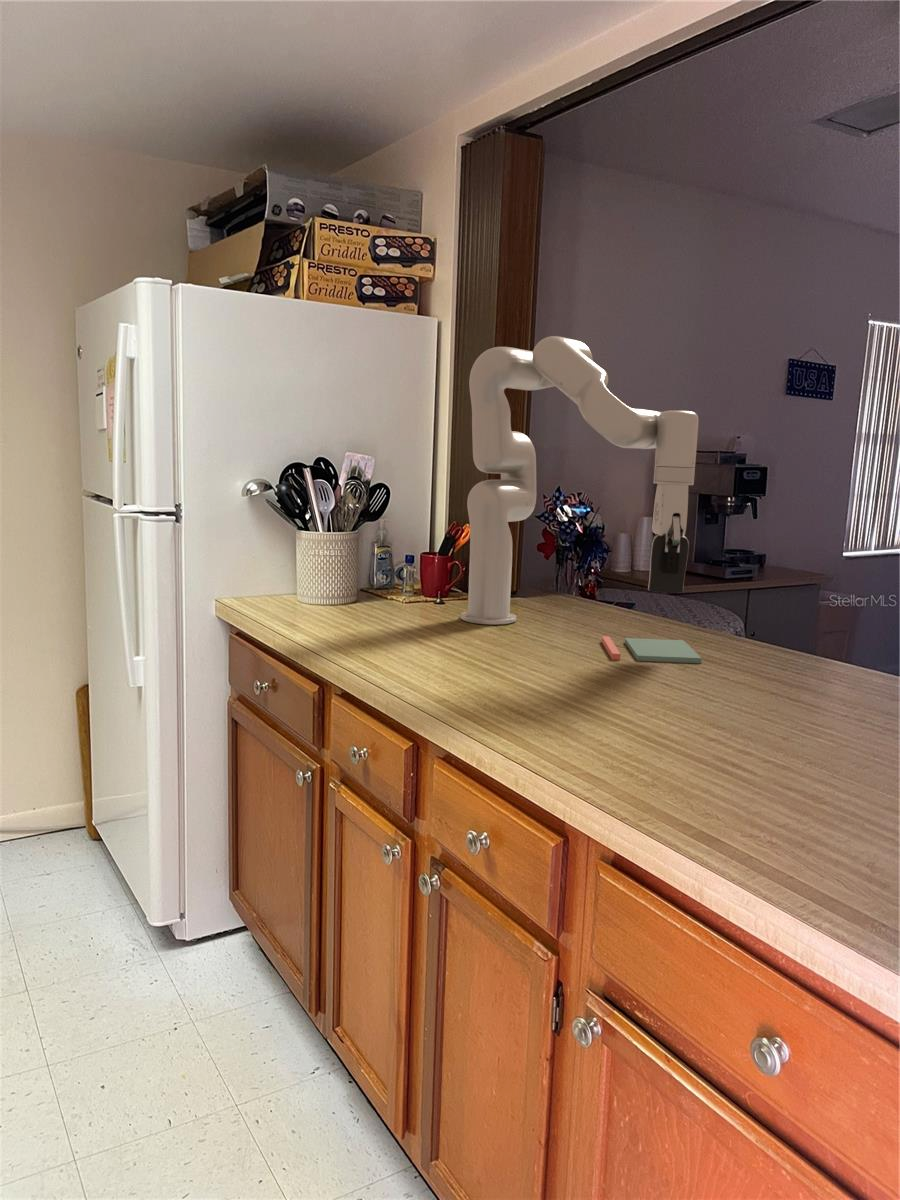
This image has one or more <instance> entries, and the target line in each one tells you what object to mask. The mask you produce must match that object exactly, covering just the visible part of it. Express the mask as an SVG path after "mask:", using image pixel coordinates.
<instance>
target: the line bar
mask: <svg viewBox="0 0 900 1200" xmlns="http://www.w3.org/2000/svg"><path fill="white" fill-rule="evenodd" d="M601 644H602V645H603V647H604V648H605V651H606V652H607V654H608V655H609V657H610V659H611V660H612V661H620V660H621V653H620V651H619V649H618V648H617V645H615V643H614V641H613V640H612V638H611V637H610V636H609V635H607V636H606V635H602V636H601Z"/></svg>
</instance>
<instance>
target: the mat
mask: <svg viewBox="0 0 900 1200" xmlns="http://www.w3.org/2000/svg"><path fill="white" fill-rule="evenodd" d="M624 644H625V646H626V647H627V648H628V650H629V652H630V653H631V654H632V655H633V657H634V658H635V659H636V661H638V662H659V663H661V662H662V663H663V662H664V663H682V664H683V663H684V664H685V663H686V664H688V663H689V664H702V660H703V658H702V656H700V655H699V654H698V653H697V652H696V650H694V649H693V648H692V647H691V646H690V645H689V644H688V643H687V642H686V641H685V640H684V639H661V638H660V639H659V638H658V639H657V638H635V637H633V638H632V637H625V638H624Z"/></svg>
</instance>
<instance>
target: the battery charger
mask: <svg viewBox="0 0 900 1200" xmlns="http://www.w3.org/2000/svg"><path fill="white" fill-rule="evenodd" d="M668 536H672V534H668ZM680 536H681V535H680ZM664 540H665V534H663V536H659V535H657V534H655V535H653V537H652V540H651V544H650V551H649V561H650V562H649V577H648V578H649V580H648V586H647V590H648V591H649V592H656V593H668V594H669V593H672V594H675V593H676V594H680V593H681V594H683V592H684V586H685V577H686V571H687V565H688V557H689V549H690V547H689V546H690V545H689V544H690V542H689V540H688V538H687V537H686V536H685V535H684V536H682V537H680V552H679V553H680V556H679V569H678V573H677V574H670V573H662V572H661V564H662V552H664ZM668 542H669V539H668ZM668 544H669V543H668Z"/></svg>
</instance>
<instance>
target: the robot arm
mask: <svg viewBox="0 0 900 1200" xmlns="http://www.w3.org/2000/svg"><path fill="white" fill-rule="evenodd" d="M468 383H469V385H468V387H469V396H470V403H471V415H472V416H471V428H472V429H471V432H472V433H471V434H472V437H471V438H472V439H471V441H472V458H473V459H472V460H473V462H474V463H473V464H474V465H475V467H476V468H477V470H479V471H480V472H483V473H485V474H500V479H486V480H482V481H479V482H478V483H476V484H475V485H474V486H473V487H472V488H471V489H470V490H469V493H468V495H467V499H466V500H467V502H466V504H467V506H466V508H467V512H468V513H467V514H468V520H469V534H470V535H469V536H470V537H469V538H470V539H469V567H468V568H469V569H468V570H469V573H468V574H469V575H468V593H467V594H468V599H467V602H468V603H467V610H466V611H463V612H461V613H460V619H461V620H463V621H465V622H467V623H471V624H480V625H492V626H493V625H494V626H495V625H496V626H497V625H508V624H512V623H515V622H516V621H517V615H516V614H514V613H512V612H510V611H511V590H512V567H513V537H512V532H511V528H510V526H509V523H510V522H512V523H513V522H519V521H523V520H527V519H528V518H529V517H530V516H532V513H533V512H534V510H535V508H536V504H537V455H536V449H535V447H534V444H533V442H532V440H531V439H530V438H529V437H528V435H526V434H525V433H522V432H520V431H514V430H513V431H512V426H511V425H512V424H511V414H512V412H511V407H510V404H509V400H508V398H507V396H506V394H505V390H506V389H513V390H521V391H539V390H543V389H544V390H545V389H548V388H553V387H555V388H557V389H558V390H559V391H560V392H561V393H563V394H564V395H565V396H566V397H567V398H568V399H570V400H571V401H572V402H574V403H575V405H577V406H578V411H579V413H580V414H581V416H582V418H583V419H584V420H585V422H586V423H587V424H588V425H589V426H590V427H591V428H592V429H593V430H595V431H596V432H597V433H598V434H599V435H600V436H602V437H603V438H604V439H605V440H606V441H608V442H610V443H611V444H613V445H614V446H615V447H616V446H617V447H619V448H623V449H638V450H651V449H655V454H654V455H655V456H654V471H653V484H656V485H657V486H656V491H655V497H654V504H653V515H652V522H651V523H652V524H651V531H652V533H654V534H655V535H656V534H657V535H659V536H663V534H665V540H664V552H662V564H661V572H662V573H670V574H677V573H678V569H679V556H680V553H679V552H680V537H682V536H685V535H686V531H687V523H688V522H687V521H688V510H689V508H688V506H689V486H694V483H695V470H696V468H695V467H696V459H697V458H696V457H697V446H698V445H697V444H698V434H699V433H698V431H699V416H698V414H697V413H696V412H694V411H691V410H690V411H689V410H665V411H657V410H653V409H652V410H651V409H650V410H649V409H644V408H632V407H630V406H628V405H626V403H624V402H622V401H621V400H620V399H619V398H618V397H617V396H615V395H614V394H613V393H612V392H610V390H609V389H608V388H607V387H608V383H609V375H608V373H607V372H606V370H604V369H603V368H602V367H601V366H599V365H598V364H597V363H595V362H594V360H593V354H592V352H591V350H590V348H589V346H587V345H586V344H585V343H584V342H582V341H580V340H577V339H573V338H569V337H568V338H567V337H563V336H559V335H555V336H554V335H553V336H552V335H550V336H547V337H544V338H543V339H541V340H539V341H538V343H536V345H535V346H534V348H533V350H527V349H522V348H521V349H520V348H518V347H517V348H516V347H509V346H495V347H492V348H488V349H487V350H484V351H483V352H482V353H481V354H480V355H479V356H478V357H477V358H476V359H475V361H474V363H473V364H472V367H471V370H470V373H469V382H468ZM668 534H672V536H668ZM680 535H681V536H680ZM668 539H669V542H668ZM668 543H669V544H668Z"/></svg>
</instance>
